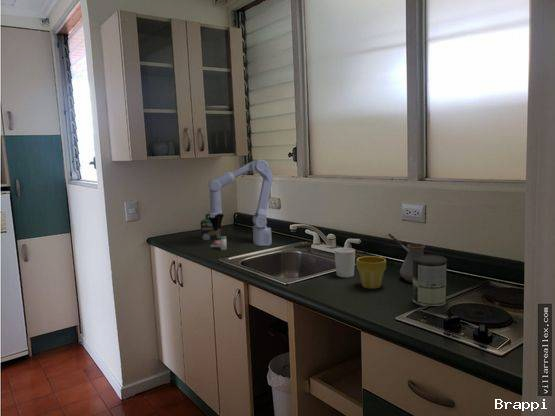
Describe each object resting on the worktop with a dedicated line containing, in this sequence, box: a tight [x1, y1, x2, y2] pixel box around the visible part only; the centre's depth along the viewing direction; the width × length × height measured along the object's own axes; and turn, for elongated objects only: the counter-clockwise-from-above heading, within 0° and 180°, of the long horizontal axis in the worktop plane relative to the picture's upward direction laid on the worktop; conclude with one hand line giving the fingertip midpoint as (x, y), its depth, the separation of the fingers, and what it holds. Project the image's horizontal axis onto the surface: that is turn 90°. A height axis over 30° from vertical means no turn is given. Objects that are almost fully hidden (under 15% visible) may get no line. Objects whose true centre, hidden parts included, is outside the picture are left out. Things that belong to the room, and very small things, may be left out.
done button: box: [214, 239, 220, 245], centre depth 226 cm, size 3×3×2 cm
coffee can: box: [412, 254, 448, 307], centre depth 139 cm, size 10×10×14 cm
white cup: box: [334, 247, 356, 278], centre depth 171 cm, size 8×8×10 cm
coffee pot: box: [385, 233, 426, 283], centre depth 166 cm, size 21×12×15 cm, turn 26°
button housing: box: [210, 242, 221, 248], centre depth 226 cm, size 6×6×2 cm
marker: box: [219, 235, 228, 251], centre depth 217 cm, size 3×3×7 cm
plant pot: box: [355, 255, 387, 290], centre depth 157 cm, size 10×10×10 cm
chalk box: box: [199, 213, 222, 241], centre depth 245 cm, size 9×9×15 cm
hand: (217, 229), depth 225 cm, fingers open, 4 cm apart
